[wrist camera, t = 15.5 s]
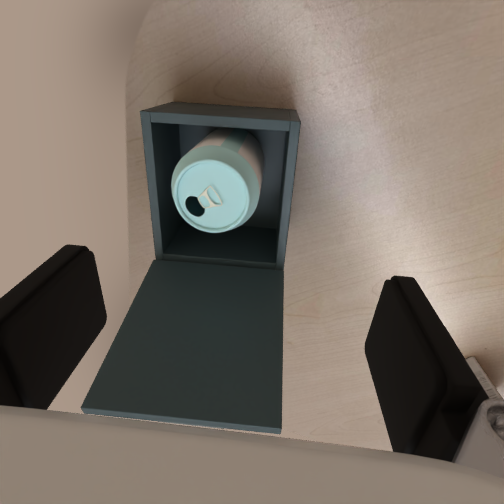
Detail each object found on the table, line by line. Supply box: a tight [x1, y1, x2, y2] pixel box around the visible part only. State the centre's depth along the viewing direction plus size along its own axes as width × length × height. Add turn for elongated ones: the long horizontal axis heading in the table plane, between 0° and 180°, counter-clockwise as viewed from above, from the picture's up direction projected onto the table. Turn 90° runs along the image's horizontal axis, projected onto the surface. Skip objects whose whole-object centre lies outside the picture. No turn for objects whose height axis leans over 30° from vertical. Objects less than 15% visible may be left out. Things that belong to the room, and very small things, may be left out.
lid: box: [81, 260, 284, 434], centre depth 27 cm, size 14×13×5 cm
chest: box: [140, 102, 301, 271], centre depth 32 cm, size 14×13×9 cm
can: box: [171, 127, 265, 233], centre depth 30 cm, size 7×7×12 cm
